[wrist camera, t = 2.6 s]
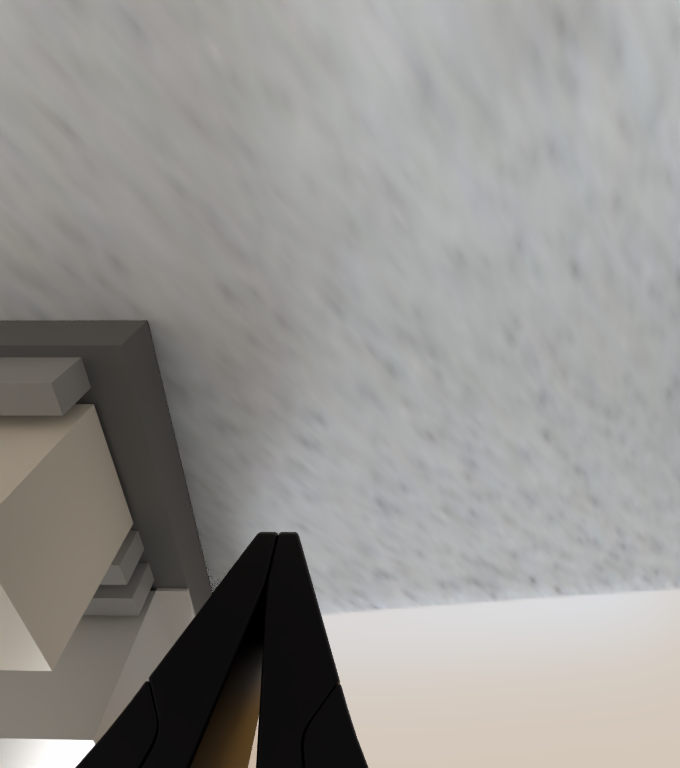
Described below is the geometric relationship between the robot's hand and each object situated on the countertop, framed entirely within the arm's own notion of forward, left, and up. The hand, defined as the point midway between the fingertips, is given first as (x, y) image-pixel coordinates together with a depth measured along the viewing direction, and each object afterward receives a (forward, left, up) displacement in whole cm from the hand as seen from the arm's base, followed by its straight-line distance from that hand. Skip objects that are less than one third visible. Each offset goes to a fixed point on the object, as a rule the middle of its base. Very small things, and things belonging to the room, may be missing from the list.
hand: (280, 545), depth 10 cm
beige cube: (+7, 0, -2) cm, 7 cm away
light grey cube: (+7, +7, -2) cm, 10 cm away
